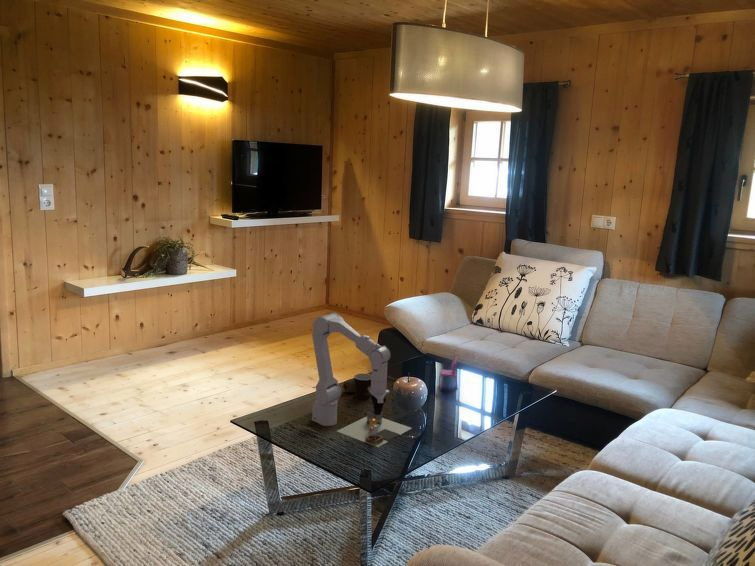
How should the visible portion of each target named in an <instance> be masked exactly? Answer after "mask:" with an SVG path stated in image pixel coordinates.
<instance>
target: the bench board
mask: <svg viewBox="0 0 755 566" xmlns="http://www.w3.org/2000/svg"><path fill="white" fill-rule="evenodd" d="M383 429H387V430H389V431H392V432H395V433H398V434H400V435H399V436H401V435H403V434H405V433H406V432H408V431H409V430H412V429H413V428H412V427H410V426H407V425H405V424H401V423H399V422H395V421H393V420H390V419H387V418H384V417H382V424H381V425H379V427H378V432H380V431H382V430H383ZM336 432H337V433H340V434H343V435H345V436H347V437H350V438H353V439H355V440H359V441H361V442H363V443H365V444H368V445H371V446H374V447H376V448H380V447H381V446H383V445H385V444H386V443H388V442H389V441H387V440H384V439H383V441H382V442H380V443H379V444H377V445H374V444H371V443H368V442H366V441H365V437H367V436H369V435H371V431H369V425H368V424H367V416H365V417H363V418H360V419H359V420H356V421H354V422H352V423H350V424H348V425H346V426H344V427H342V428H339V429H337V430H336ZM394 439H395V438H393V439H392V440H394Z"/></svg>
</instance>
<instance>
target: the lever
mask: <svg viewBox="0 0 755 566" xmlns="http://www.w3.org/2000/svg"><path fill="white" fill-rule="evenodd" d="M372 425H376V419H375V418H371V419H370V425H369V431H372V430H371V428H372Z"/></svg>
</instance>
